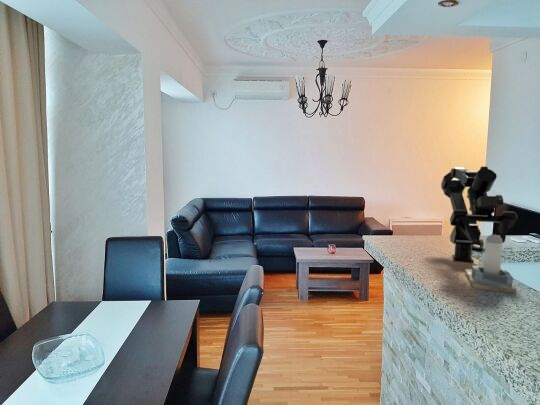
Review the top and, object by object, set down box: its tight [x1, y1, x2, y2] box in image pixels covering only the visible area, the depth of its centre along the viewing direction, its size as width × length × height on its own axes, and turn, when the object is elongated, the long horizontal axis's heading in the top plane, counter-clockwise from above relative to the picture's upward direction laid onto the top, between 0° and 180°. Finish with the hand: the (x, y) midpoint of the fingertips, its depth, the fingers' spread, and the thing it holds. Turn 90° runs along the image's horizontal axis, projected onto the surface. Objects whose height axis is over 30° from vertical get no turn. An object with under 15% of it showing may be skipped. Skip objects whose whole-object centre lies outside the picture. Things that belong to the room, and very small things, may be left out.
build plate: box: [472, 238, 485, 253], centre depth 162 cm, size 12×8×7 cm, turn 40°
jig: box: [464, 265, 517, 294], centre depth 121 cm, size 16×11×4 cm
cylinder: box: [483, 234, 503, 275], centre depth 118 cm, size 4×4×14 cm
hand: (487, 241), depth 123 cm, fingers open, 9 cm apart
